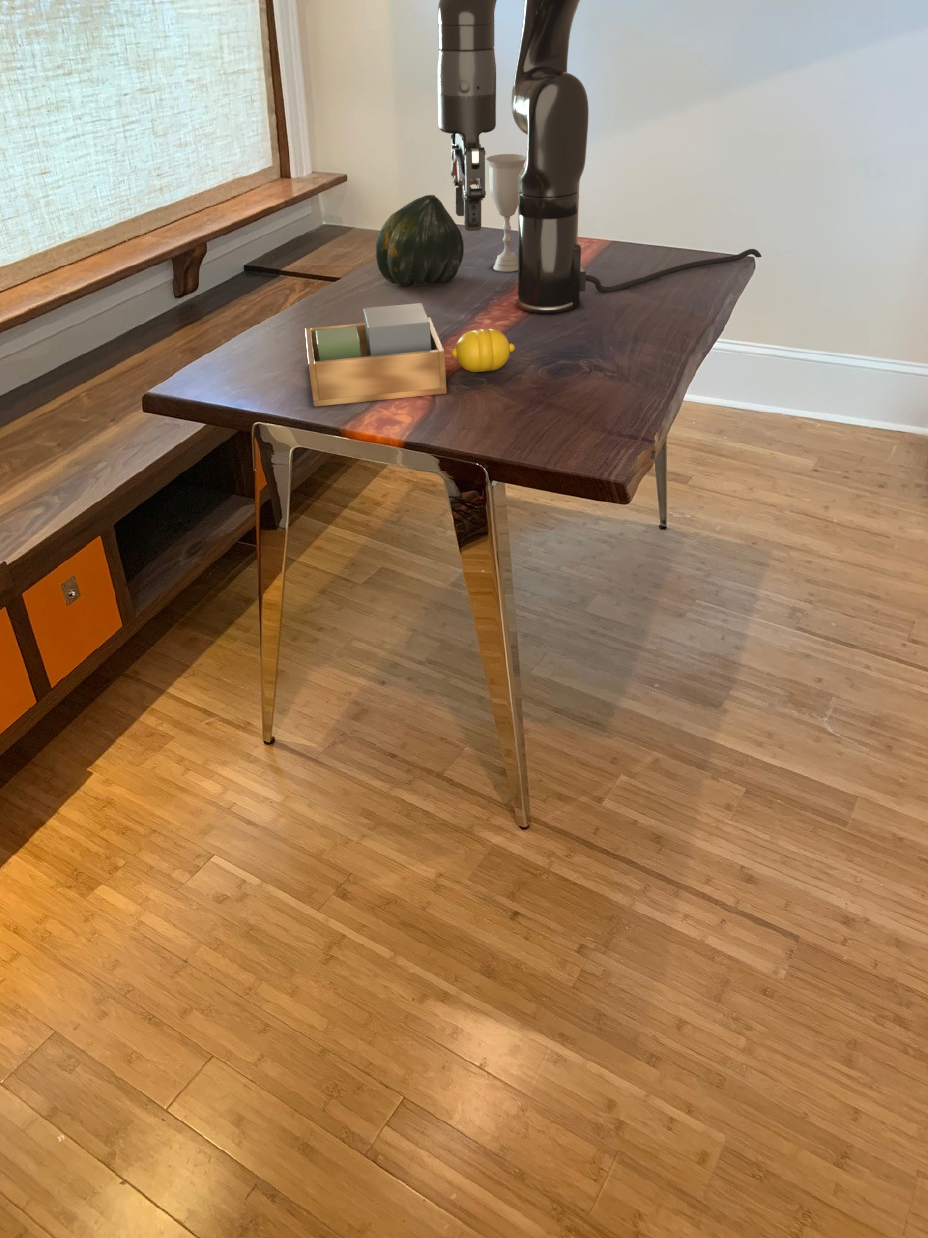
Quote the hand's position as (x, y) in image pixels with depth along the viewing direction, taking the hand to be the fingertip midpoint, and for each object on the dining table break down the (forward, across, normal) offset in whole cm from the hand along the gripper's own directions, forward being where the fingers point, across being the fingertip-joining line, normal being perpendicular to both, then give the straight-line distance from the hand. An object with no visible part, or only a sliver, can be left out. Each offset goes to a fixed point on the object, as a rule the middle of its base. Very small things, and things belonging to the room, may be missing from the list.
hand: (468, 222), depth 131 cm
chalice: (+17, +36, -12) cm, 42 cm away
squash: (+17, +32, +3) cm, 36 cm away
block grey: (+17, -11, +11) cm, 23 cm away
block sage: (+18, -11, +19) cm, 28 cm away
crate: (+17, -11, +15) cm, 25 cm away
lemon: (+17, -11, 0) cm, 20 cm away
